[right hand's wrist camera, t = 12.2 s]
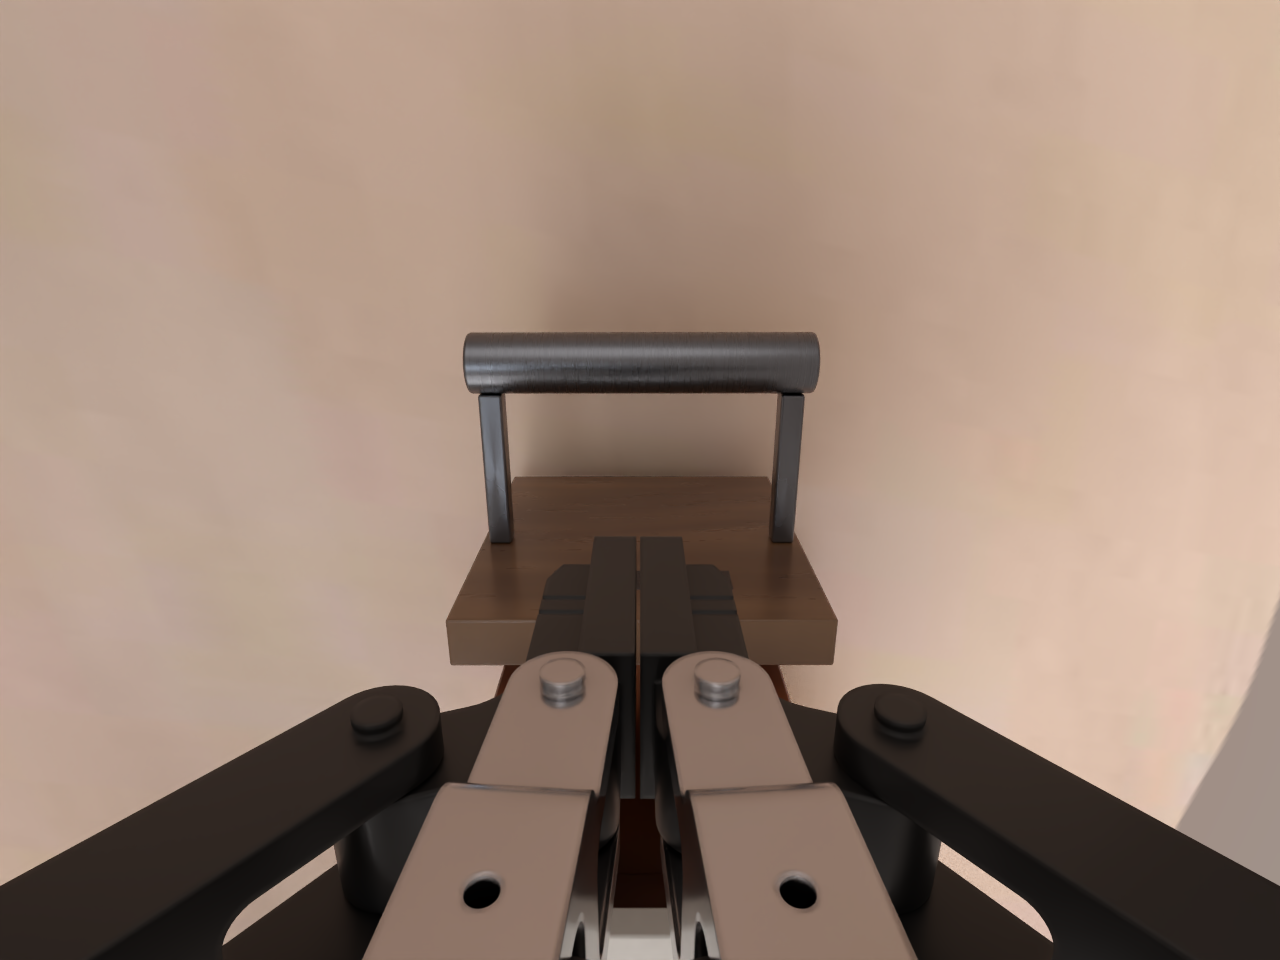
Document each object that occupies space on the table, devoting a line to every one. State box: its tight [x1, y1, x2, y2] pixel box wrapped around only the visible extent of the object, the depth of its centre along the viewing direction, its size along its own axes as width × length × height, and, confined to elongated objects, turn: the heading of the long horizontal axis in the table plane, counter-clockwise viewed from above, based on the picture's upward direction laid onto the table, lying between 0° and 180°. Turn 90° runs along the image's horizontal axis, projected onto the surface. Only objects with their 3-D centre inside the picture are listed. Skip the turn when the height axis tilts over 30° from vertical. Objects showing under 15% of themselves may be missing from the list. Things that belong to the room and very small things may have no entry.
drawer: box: [446, 332, 838, 908], centre depth 22 cm, size 23×9×9 cm, turn 0°
